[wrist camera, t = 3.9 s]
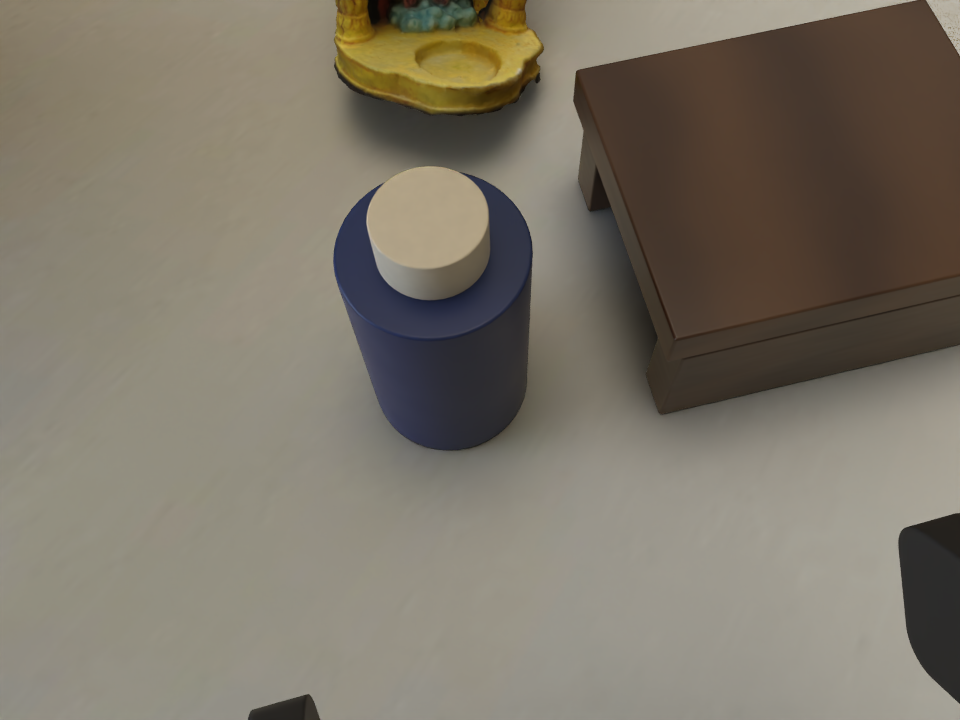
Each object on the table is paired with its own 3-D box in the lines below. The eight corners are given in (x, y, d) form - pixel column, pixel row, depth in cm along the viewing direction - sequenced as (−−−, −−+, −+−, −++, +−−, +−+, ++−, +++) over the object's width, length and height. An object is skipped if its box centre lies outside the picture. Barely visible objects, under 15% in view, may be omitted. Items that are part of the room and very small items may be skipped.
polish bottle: (391, 467, 30) (340, 331, 21) (363, 330, 32) (306, 153, 23) (543, 431, 30) (559, 282, 21) (506, 298, 32) (505, 112, 23)
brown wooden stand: (644, 418, 30) (674, 340, 25) (564, 181, 34) (575, 69, 29) (978, 340, 31) (1078, 248, 26) (860, 117, 35) (925, -3, 30)
